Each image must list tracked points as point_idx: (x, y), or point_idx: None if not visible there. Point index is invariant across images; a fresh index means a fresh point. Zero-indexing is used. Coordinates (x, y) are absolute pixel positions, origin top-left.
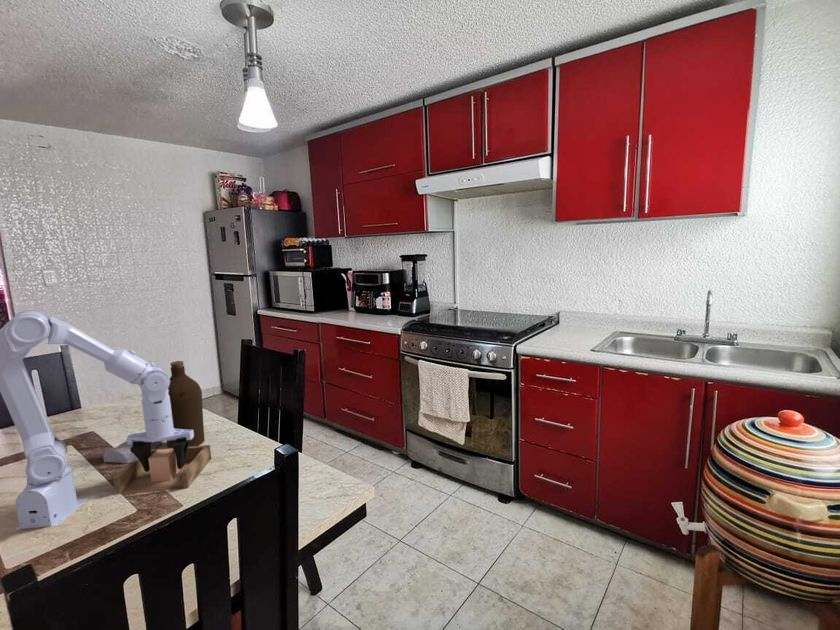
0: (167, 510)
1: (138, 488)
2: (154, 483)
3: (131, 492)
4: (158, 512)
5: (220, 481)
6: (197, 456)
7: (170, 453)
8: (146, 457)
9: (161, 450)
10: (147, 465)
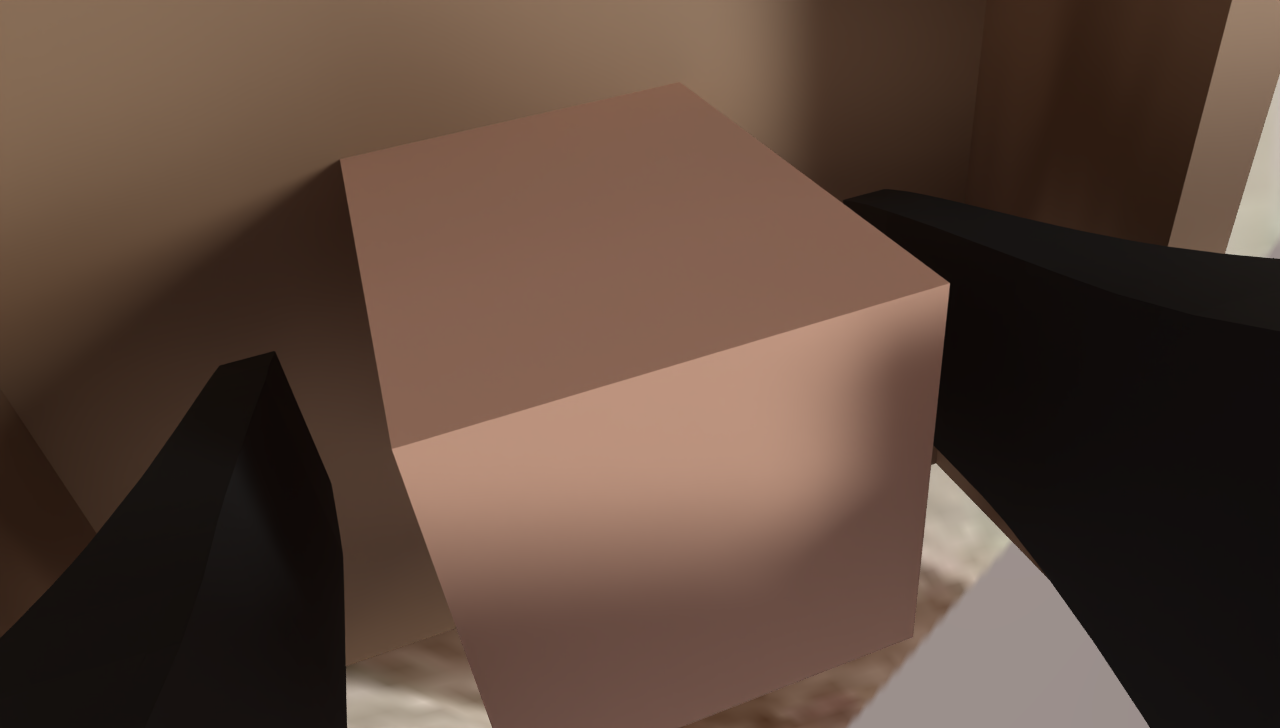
0: (893, 668)
1: (379, 586)
2: None
3: (364, 658)
4: (836, 701)
5: (1235, 234)
6: (1213, 160)
7: (895, 523)
8: (311, 687)
9: (554, 460)
10: (329, 555)
